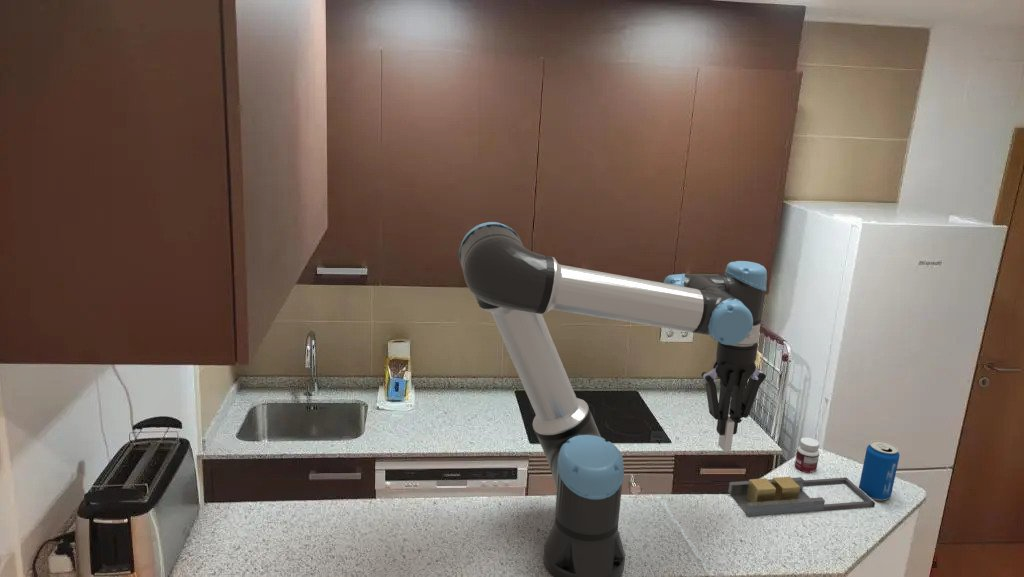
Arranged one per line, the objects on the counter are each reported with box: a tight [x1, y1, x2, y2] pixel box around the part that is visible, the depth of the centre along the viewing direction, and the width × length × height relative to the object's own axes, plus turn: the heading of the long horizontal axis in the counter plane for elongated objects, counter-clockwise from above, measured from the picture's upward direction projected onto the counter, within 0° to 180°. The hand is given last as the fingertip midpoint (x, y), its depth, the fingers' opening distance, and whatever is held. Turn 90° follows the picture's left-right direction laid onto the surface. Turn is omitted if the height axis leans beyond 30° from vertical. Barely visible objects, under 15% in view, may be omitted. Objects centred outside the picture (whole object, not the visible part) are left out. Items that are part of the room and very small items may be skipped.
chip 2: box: [772, 476, 800, 501], centre depth 152 cm, size 4×4×4 cm
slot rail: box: [727, 476, 826, 518], centre depth 152 cm, size 17×9×4 cm, turn 100°
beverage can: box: [858, 439, 900, 502], centre depth 157 cm, size 6×6×12 cm
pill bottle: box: [794, 437, 820, 474], centre depth 165 cm, size 5×5×8 cm
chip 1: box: [746, 477, 776, 503], centre depth 151 cm, size 4×4×4 cm
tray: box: [803, 476, 876, 512], centre depth 155 cm, size 12×10×2 cm
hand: (724, 447), depth 146 cm, fingers closed
